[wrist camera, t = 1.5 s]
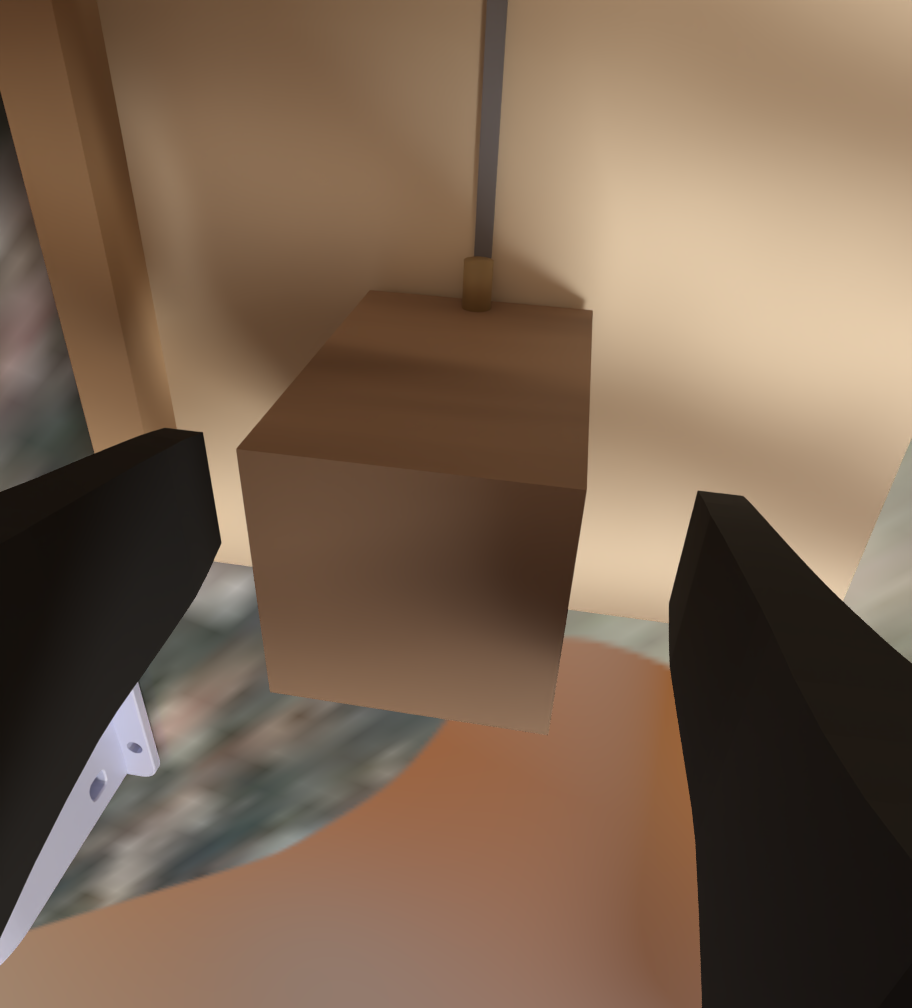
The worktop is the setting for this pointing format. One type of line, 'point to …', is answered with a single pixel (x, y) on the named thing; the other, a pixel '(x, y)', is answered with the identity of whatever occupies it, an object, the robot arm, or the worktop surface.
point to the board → (499, 230)
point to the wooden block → (425, 506)
